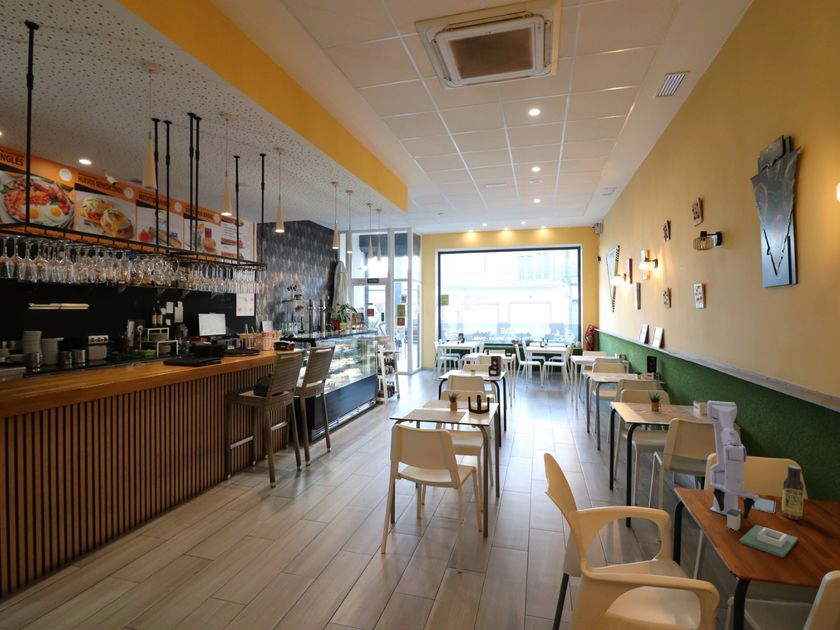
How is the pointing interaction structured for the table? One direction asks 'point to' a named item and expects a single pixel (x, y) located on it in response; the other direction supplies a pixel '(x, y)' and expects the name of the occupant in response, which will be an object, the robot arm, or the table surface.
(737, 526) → the plug
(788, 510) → the sauce bottle
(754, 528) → the socket board
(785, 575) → the table surface
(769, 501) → the smartphone
